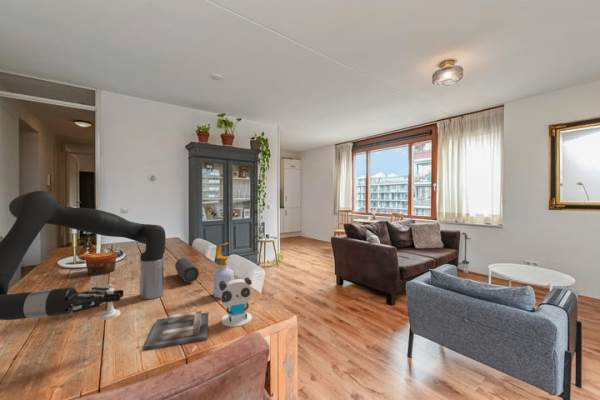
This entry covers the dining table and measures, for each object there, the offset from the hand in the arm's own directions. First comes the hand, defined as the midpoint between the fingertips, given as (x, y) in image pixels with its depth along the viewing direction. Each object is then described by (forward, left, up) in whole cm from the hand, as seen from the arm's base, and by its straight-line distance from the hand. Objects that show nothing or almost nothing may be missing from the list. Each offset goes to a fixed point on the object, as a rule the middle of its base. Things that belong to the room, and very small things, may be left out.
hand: (121, 295), depth 80 cm
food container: (-92, +39, -16) cm, 101 cm away
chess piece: (-2, -2, -6) cm, 7 cm away
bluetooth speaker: (-36, +54, -17) cm, 67 cm away
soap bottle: (-1, +46, -16) cm, 49 cm away
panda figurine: (+20, +30, -16) cm, 39 cm away
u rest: (+8, +15, -16) cm, 23 cm away
